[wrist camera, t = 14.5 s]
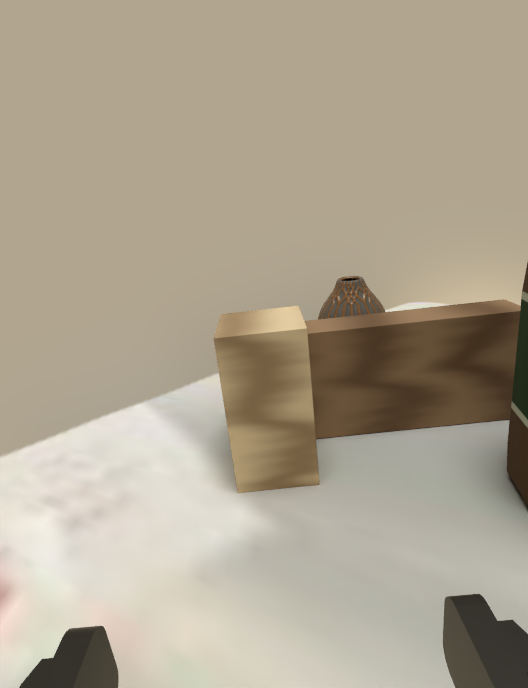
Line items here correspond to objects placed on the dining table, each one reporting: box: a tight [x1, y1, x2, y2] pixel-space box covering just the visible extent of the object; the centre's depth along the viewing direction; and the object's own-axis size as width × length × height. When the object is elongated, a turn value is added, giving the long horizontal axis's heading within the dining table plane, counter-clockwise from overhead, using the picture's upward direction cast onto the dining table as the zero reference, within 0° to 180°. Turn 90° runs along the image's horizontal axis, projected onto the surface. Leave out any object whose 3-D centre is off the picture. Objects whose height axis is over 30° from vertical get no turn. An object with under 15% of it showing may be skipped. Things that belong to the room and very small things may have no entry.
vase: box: [318, 276, 385, 320], centre depth 41 cm, size 7×7×9 cm
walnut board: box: [304, 300, 521, 439], centre depth 30 cm, size 20×3×8 cm, turn 91°
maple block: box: [214, 306, 319, 493], centre depth 26 cm, size 5×5×10 cm
